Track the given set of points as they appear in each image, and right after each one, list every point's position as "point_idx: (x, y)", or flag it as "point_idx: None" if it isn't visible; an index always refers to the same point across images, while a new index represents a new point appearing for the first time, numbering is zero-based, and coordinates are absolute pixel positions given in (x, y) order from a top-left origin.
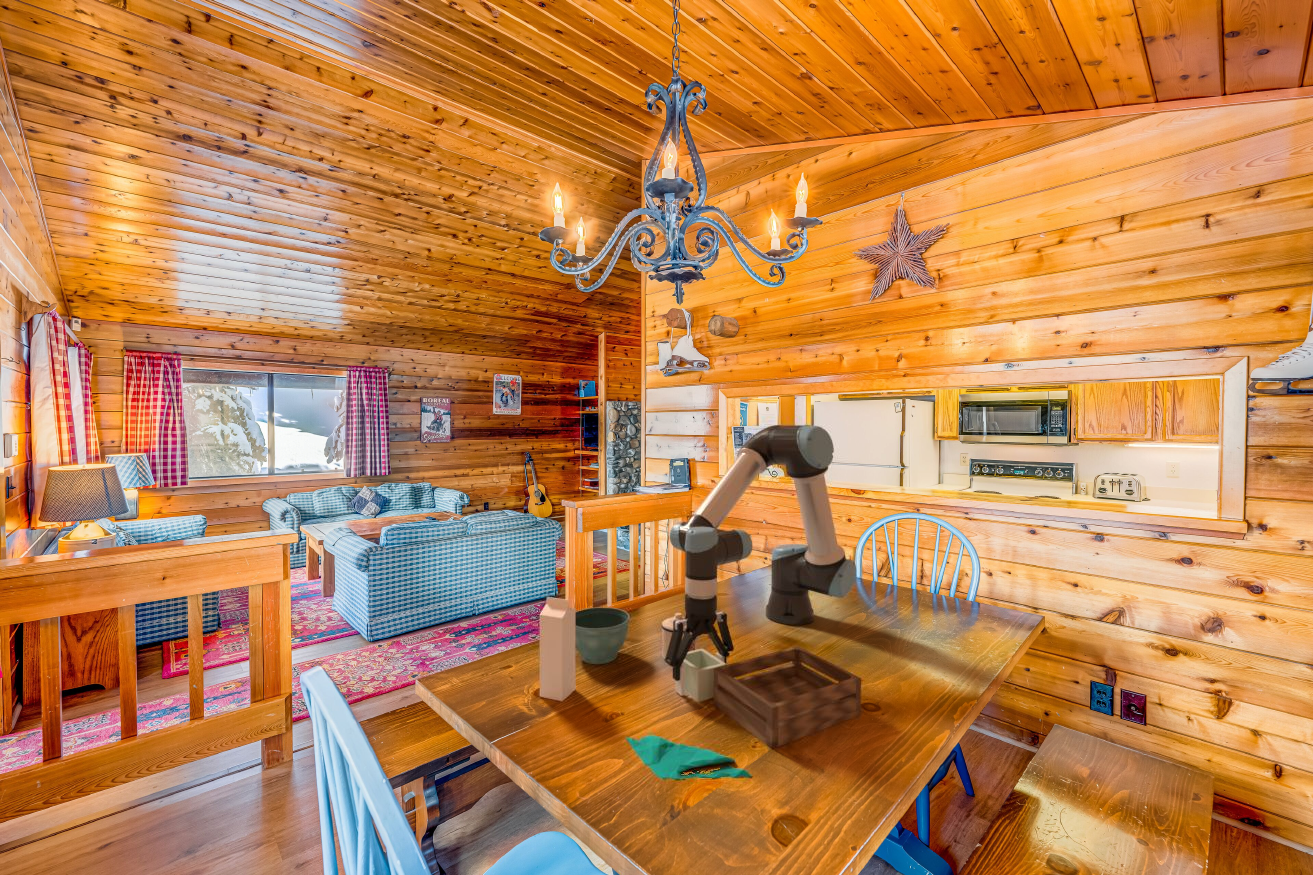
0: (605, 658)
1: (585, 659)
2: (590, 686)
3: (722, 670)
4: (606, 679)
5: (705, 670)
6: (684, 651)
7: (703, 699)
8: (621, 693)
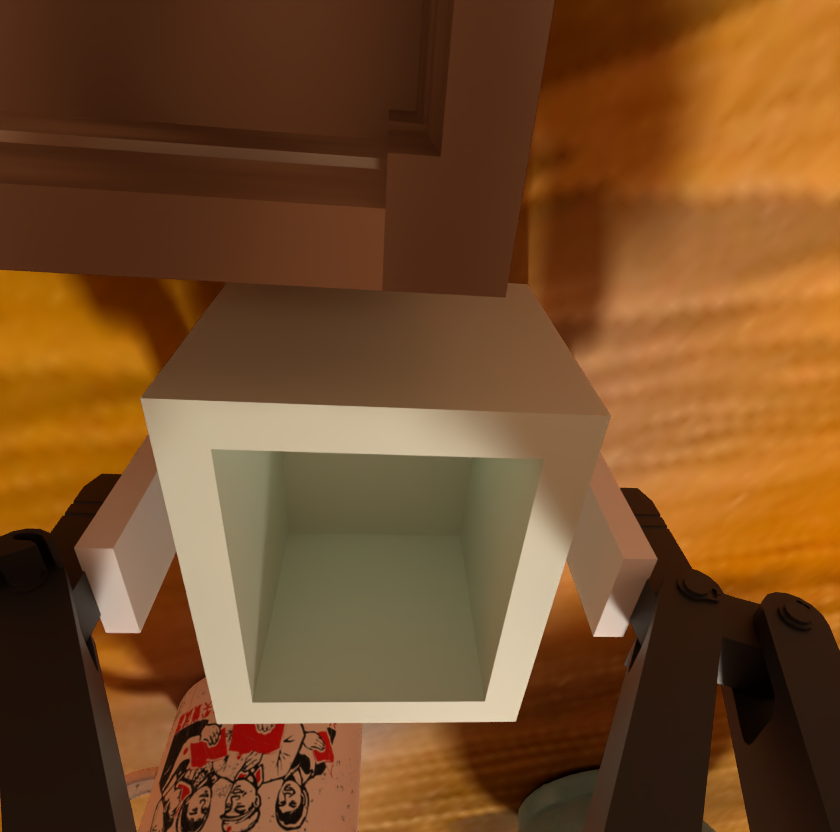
0: None
1: None
2: None
3: (421, 157)
4: None
5: (497, 406)
6: (693, 727)
7: None
8: (789, 575)
